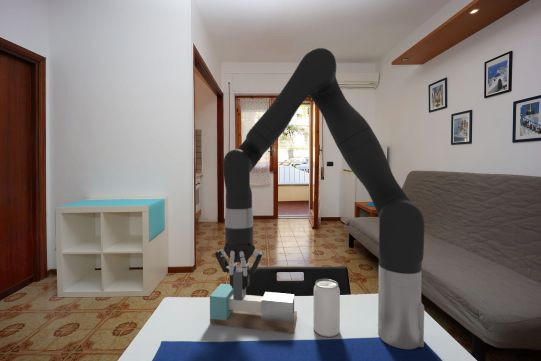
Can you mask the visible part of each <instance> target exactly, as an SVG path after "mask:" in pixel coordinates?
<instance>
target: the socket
mask: <svg viewBox="0 0 541 361" xmlns="http://www.w3.org/2000/svg"><path fill="white" fill-rule="evenodd" d="M231 294H233V289H232V286H230V283H220V284H219V285H218V286H217V287H216V289H215V290H214V291H213V292H212V293H211V294H210V295H209V320H210V319H219V320H227V318H228V317H229V315H230V314H231V312H232V311H233V310H229V297H230V295H231Z"/></svg>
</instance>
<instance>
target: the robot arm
mask: <svg viewBox="0 0 541 361" xmlns="http://www.w3.org/2000/svg"><path fill="white" fill-rule="evenodd" d="M336 61H337V60H336V58H335V55H334V54H333V53H332V51H331V50H329V49H326V48H324V47H317V48H314V49H311V50H309V51H308V52H306V54H304V55H303V57H302V59H301V60H300V62H299V63H298V65H297V67H296V68H295V70H294V72H293V73H292V75H291V77H290V78H289V79H288V81H287V82H286V84H285V85H284V87H283V88H282V90H281V91H280V93H279V94H278V95H277V97H276V98H275V100H273V102H272V103H271V105H269V106H268V108H267V109H266V111H265V112H264V113H263V114H262V115H261V117H259V119H258V120H257V121H256V123H255V124H254V125H253V126H252V127H251V128H250V129H249V131H248V132H247V134H246V137H245V139H244V140H243V142H242V143H241V144H240V146H239V147H237V149H232V150H230V151H228V152H227V153H226V154H225V155H224V158H223V164H222V173H223V179H224V180H223V181H224V186H225V213H224V239H225V240H224V242H225V243H224V246H223V248H222V249H218V250H217V251H215V253H214V255H215V257H216V260H217V262H218V264H219V267H220V269H221V270H222V272H223V273H227V274H228V275H229V284H230V286H232V289H233V271H234V270H235V269H236V268H237V267H238V263H240V265H241V266H240V267H242V269H243V289H245V290H246V291H247V288H248V287H249V286H250V275H254V274H255V272H256V271H257V269H258V267H259V264H260V263H261V261H262V258H264V255H265V253H264V251H259V250H256V247H255V245H254V214H253V191H252V187H251V184H250V182H251V181H250V177H251V176H250V175H251V174H250V173H251V172H252V171H253V169H254V168H255V167H256V166H257V164H258V163H259V162H260V161H261V159H262V157H263V155H264V154H265V153H266V152H267V151H268V150H269V149H271V147H272V146H273V145H274V144H275V142H276V141H277V140H278V139H279V138H280V137H281V136H282V134H283V133H284V131H286V129H287V127H288V126H289V124H290V122H291V121H292V120H293V117H294V116H295V114H296V112H297V111H298V109H299V108H300V107H301V106H302V104H303V103H304V102H305V101H306V100H307V98H308V97H310V99H312V101H313V102H314V104H315V105H316V107H317V109H318V110H319V111H320V113H321V114H322V116H323V118H324V121H325V124H326V126H327V128H328V131H329V132H330V136H332V137H331V138H332V139H333V140H334V142H335V143H334V144H336V147H337V148H338V151H339V152H340V154H341V156H342V158H343V160H344V161H345V163H346V164H347V166H348V167H349V168H350V170H351V171H352V173H353V174H354V175H355V177H356V178H357V179H358V180H359V181H360V183H361V184H362V185H363V187H364V188H365V189H366V191H367V193H368V195H369V197H370V199H371V201H372V203H373V206H374V208H375V211H376V214H377V216H378V220H379V222H378V223H379V224H378V226H379V227H378V235H379V236H378V289H377V290H378V296H377V297H378V299H377V301H378V305H377V310H378V311H377V335H378V337H379V338H380V340H382V341H383V342H384V343H386V344H387V345H389V346H391V347H393V348H397V349H402V350H414V349H417V348H424V345H425V344H424V342H425V341H424V339H425V337H424V336H425V335H424V334H425V330H424V329H425V305H424V304H423V303H422V271H423V270H422V267H423V260H424V256H425V255H424V251H425V250H424V249H425V247H424V246H425V218H424V216H423V214H422V211H421V210H420V209H419V207H417V205H415V204H414V203H413V202H412V201H411V200H410V198H409V197H408V196H407V194H406V193H405V191H404V190H403V189H402V187H401V186H400V184H399V183H398V181H397V179H396V178H395V176H394V174H393V172H392V170H391V166H390V164H389V162H388V159H387V156H386V154H385V152H384V150H383V147H382V145H381V143H380V141H379V140H378V137H377V135H376V134H375V133H374V131H373V129H372V127H371V126H370V124H369V123H368V121H367V120H366V119H365V117H364V116H362V114H361V113H360V112H358V110H356V109H355V107H354V106H352V105H351V103H349V101H348V100H347V98H346V97H345V95H344V93H343V91H342V89H341V87H340V84H339V82H338V79H337V77H336V76H337V75H336V74H337V62H336ZM252 255H253V259H254V261H253V264H252V265H251V267H250V258H251V257H252ZM226 256H227V258H228V259H229V263H228V260H227V258H226Z"/></svg>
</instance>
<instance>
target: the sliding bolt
mask: <svg viewBox="0 0 541 361" xmlns="http://www.w3.org/2000/svg"><path fill="white" fill-rule="evenodd" d="M263 296H264V295H263ZM263 296H261V295H251V294H249V295H248V294H247V289H246V290H245V289H243V269H242V267H241V266H239V267H238V266H236V269H235V270H234V271H233V294H231V295H230V297H229V310H237V311H247V312H257V313H261V300H262V298H263Z"/></svg>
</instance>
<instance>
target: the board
mask: <svg viewBox="0 0 541 361" xmlns="http://www.w3.org/2000/svg"><path fill="white" fill-rule="evenodd" d="M297 312H298V311H296V310H294V318H293V323H292V324H290V323H280V322H271V321H261V313H257V312H247V311H237V310H233V311H232V312H231V314H230V315H229V317H228V318H227V320H219V319H210V318H209V325H213V326H222V327H223V326H225V327H231V328H241V329H250V330H258V331H259V330H261V331H269V332H277V333H278V332H279V333H286V334H294V333H295V327H296V322H297V316H298V314H297Z"/></svg>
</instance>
